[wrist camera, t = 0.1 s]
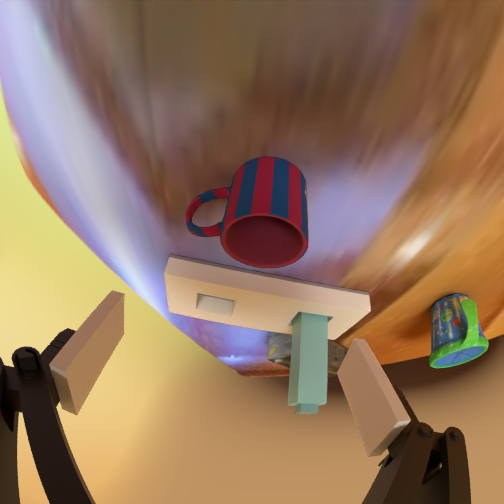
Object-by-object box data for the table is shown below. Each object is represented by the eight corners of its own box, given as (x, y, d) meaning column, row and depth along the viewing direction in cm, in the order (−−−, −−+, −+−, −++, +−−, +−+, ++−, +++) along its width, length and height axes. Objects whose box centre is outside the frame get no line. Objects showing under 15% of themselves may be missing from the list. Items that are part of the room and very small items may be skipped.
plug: (301, 298, 41) (296, 411, 31) (327, 302, 41) (325, 412, 32) (293, 310, 44) (286, 413, 34) (317, 313, 44) (313, 414, 35)
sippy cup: (438, 280, 35) (452, 345, 29) (491, 275, 32) (507, 334, 26) (411, 323, 47) (416, 375, 41) (456, 318, 44) (464, 367, 38)
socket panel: (170, 253, 36) (164, 273, 34) (368, 292, 39) (370, 311, 37) (173, 295, 46) (169, 311, 44) (334, 324, 48) (334, 339, 47)
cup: (297, 216, 29) (296, 273, 25) (198, 201, 28) (181, 256, 24) (314, 163, 23) (319, 221, 19) (198, 146, 23) (174, 199, 19)
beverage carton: (300, 321, 49) (299, 357, 45) (352, 347, 59) (352, 375, 55) (267, 331, 54) (264, 363, 50) (323, 354, 64) (322, 381, 60)
